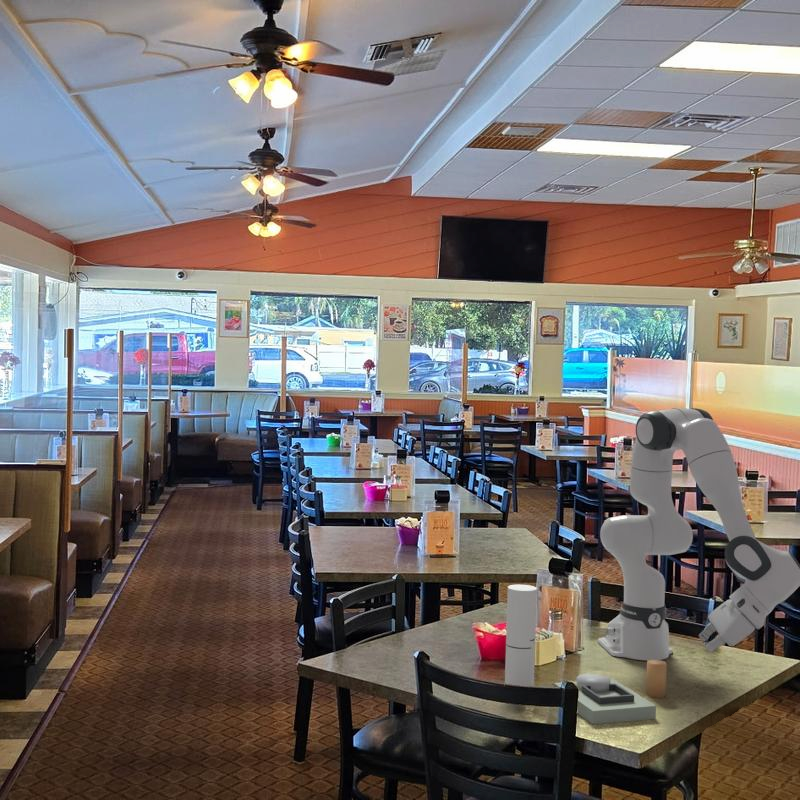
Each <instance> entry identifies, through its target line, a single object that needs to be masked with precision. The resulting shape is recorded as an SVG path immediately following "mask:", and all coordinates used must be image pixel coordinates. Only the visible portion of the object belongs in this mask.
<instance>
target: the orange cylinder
mask: <svg viewBox="0 0 800 800" xmlns="http://www.w3.org/2000/svg"><path fill="white" fill-rule="evenodd" d="M666 684H667V662H666V661H664V660H646V683H645V695H646V696H648V697H650V698H655V699H664V698H665V697H666V693H667V692H666V690H667V689H666V687H667V685H666Z"/></svg>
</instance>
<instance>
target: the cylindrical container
mask: <svg viewBox="0 0 800 800" xmlns="http://www.w3.org/2000/svg"><path fill="white" fill-rule="evenodd" d="M537 590H538V588H537V587H536V586H533V585H531V584H530V585H529V584H520V583H519V584H511V585H508V586H507V597H506V598H507V600H506V634H505V635H506V636H505V663H504V664H505V666H504V667H505V669H504V684H505V683H506V684H512V685H520V686H534V687H535V662H536V661H535V659H536V657H535V655H536V627H537V622H536V621H537V596H538V595H537V593H538V591H537Z"/></svg>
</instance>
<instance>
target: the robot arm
mask: <svg viewBox="0 0 800 800" xmlns="http://www.w3.org/2000/svg"><path fill="white" fill-rule="evenodd" d="M635 435H636V437H635V442H634V446H633V451H632V456H631V462H630V463H631V464H630V477H629V479H630V480H629V493H630V495H631V497H632V498H633V499H634V500H635V501H637V502H639V503H640V504H642V505H644V506H645V507H647V514H645V515H639V514H638V515H637V514H635V515H634V514H633V515H632V514H630V515H629V514H625V515H624V514H623V515H617V516H612V517H607V518H606V519H605V521H604V522H603V524H602V525H601V527H600V531H599V535H600V536H599V538H600V542H601V544H602V546H603V547H604V549H605V550H606V551H607V552H608V553H609V554H610V555H612V556H613V557H614V558H615V559H616V561H617V562H618V564H619V566H620V569H621V571H622V577H623V601H619V603H621V604H619V606H620V610H619V614H618V615H617V616H616V617H614V618H613V619H612V620H610V621H609V622H608V624H607V626H606V629H605V633H606V636H603V637H599V638H598V639H597V643H598V644H600V646H601V647H603V648H604V649H605V650H606V652H608V653H609V654H610V655H611V656H612V657H613V656H614V657H619V658H627V659H631V660H637V661H638V660H639V661H648V660H660V661H663V660H665V659H668V658H669V656H670V654H672V653H673V651H674V650H673V648H672V647H670V633H669V631H670V630H669V623H668V622H667V621H666V620H665V619H666V617H667V616H666V615H667V607H666V604H665V600H666V599H665V598H666V597H665V595H666V594H665V592H666V580H665V577H664V575H663V574H662V573H661V572H660V571H659V570H657V569H656V568H655V567H653V566H650V565H649V564H647V561H646V556H672V555H677V554H682V553H686V552H687V551H688V550H689V549H690V548H691V546H692V544H693V539H694V533H693V529H692V527H691V525H690V523H689V521H688V520H686V519H685V518H684V517H683V516H682V515H681V514H680V513H679V512H678V510H677V509H676V507H675V505H674V501H673V498H672V478H673V477H672V475H673V461H674V459H673V458H674V454H675V452H676V451H679V450H681V451H682V452H683V453H684V456H685V459H686V462H687V464H688V465H687V466H688V468H689V470H690V473H691V475H692V478H693V479H694V481H695V482H696V484H697V487H698V488H699V489H700V491H701V492H702V493H703V495H704V496H705V497H706V498H707V500H708V501H709V502H710V503H711V504H712V506H713V507H714V509H715V510H716V512H717V514H718V516H719V518H720V520H721V524H722V525H723V528H724V531H725V534H726V536H727V539H728V541H729V542H728V543H727V544H726V546H725V549H724V558H725V562H726V564H727V567H729V569H730V570H731V571H732V573H733V575H734V576H735V577H736V578H737V579H738V580H739V581H741V582H743V584H742V585H741V586H740V587H739V588H737V589H736V590H734V591H733V592H732V593H731V594H730V595H729V597H728V598H729V599H726V601H723V603H721V604H720V605H719V606H717V607H716V608H715V609H713V610H712V611H711V612H710V613H709V614H708V615H707V616H708V617H707V618H708V620H709V622H708V624H706V626H705V627H704V628H703V630H702V631H701V632H700V633H699V634H698V637H699V638H700V640H701V641H702V642H706V641H707V640H709V638H710V636H712V634H713V633H715V632H717V633H718V634H717V635H716V636H715V637H714V638H713V639H711V641H710V640H709V641H708V642H707V643H705V644H704V647H705V650H707V652H708V653H713V651H714V650H716V649H717V648H720V647H722V646H724V645H725V644H727V645H728V646H729V647H733V646H735V645H737V644H739V643H740V642H742V641H743V640H744V639H745V638H747V637H748V636H749V635H751V634H752V633H753V632H754V631H755V629H757V630H760V629H762V627H764V626H765V623H766V622H765V621H766V618H767V616H769V614H770V613H771V612H772V611H773V610H774V609H775V608H776V606H777V605H779V604H781V603H782V602H785V601H786V600H787V599H788V598H790V596H791V595H792V594H793V593H795V591H796V590H797V589H798V588H799V587H800V562H798V560H797V559H796V557H795V556H794V555H793V554H792V553H791V552H789V551H787V550H781V549H777V548H775V547H772V546H770V545H767V544H765V543H763V542H762V541H760V540H758V539H757V537H756V536H755V533H754V532H753V528H752V526H751V523H750V520H749V518H748V516H747V514H746V511H745V508H744V504H743V501H742V496H741V490H740V482H739V476H738V475H739V474H738V470H737V466H736V462H735V459H734V456H733V453H732V451H731V448H730V446H729V444H728V441H727V439H726V438H725V436H724V434H723V432H722V431H721V429H720V427H719V426H718V424H717V423H716V422H715V421H714V418H713V417H712V415H711V414H710V413H709V412H708V411H706V410H704V409H701V408H696V407H692V408H683V407H675V408H669V409H661V410H651V411H648V412H645V413H643V414H641V415H640V416H639V417H638V419H637V421H636V425H635Z"/></svg>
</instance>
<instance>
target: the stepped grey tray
mask: <svg viewBox="0 0 800 800" xmlns="http://www.w3.org/2000/svg"><path fill="white" fill-rule="evenodd" d="M562 682H563V681H562ZM562 682H554V683H553V688H554V687H561V684H562ZM572 682H573V683H575V684H576V685H577V686H578V688H579V698H578V713H577V714H578V715H580V717H582V718H583V719H584V720H586V721H587V722H588V723H590V724H592V725H601V724H612V723H613V724H614V723H625V722H637V721H645V720H646V721H647V720H657V718H656V717H657V705H655V704H654V703H652V702H651V701H649V700H648V699H646V698H644V697H643V696H642V695H640V694H638V693H636V692H635V691H633V690H632V689H630V688H629V687H627V686H626V685H624V684H622V683H621V682H619V681H618V680H616V679H614V678H609V677H608V676H605V675H602V674H597V673H583V674H582V673H581V674H579V675H578V676H576V681H572Z"/></svg>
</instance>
